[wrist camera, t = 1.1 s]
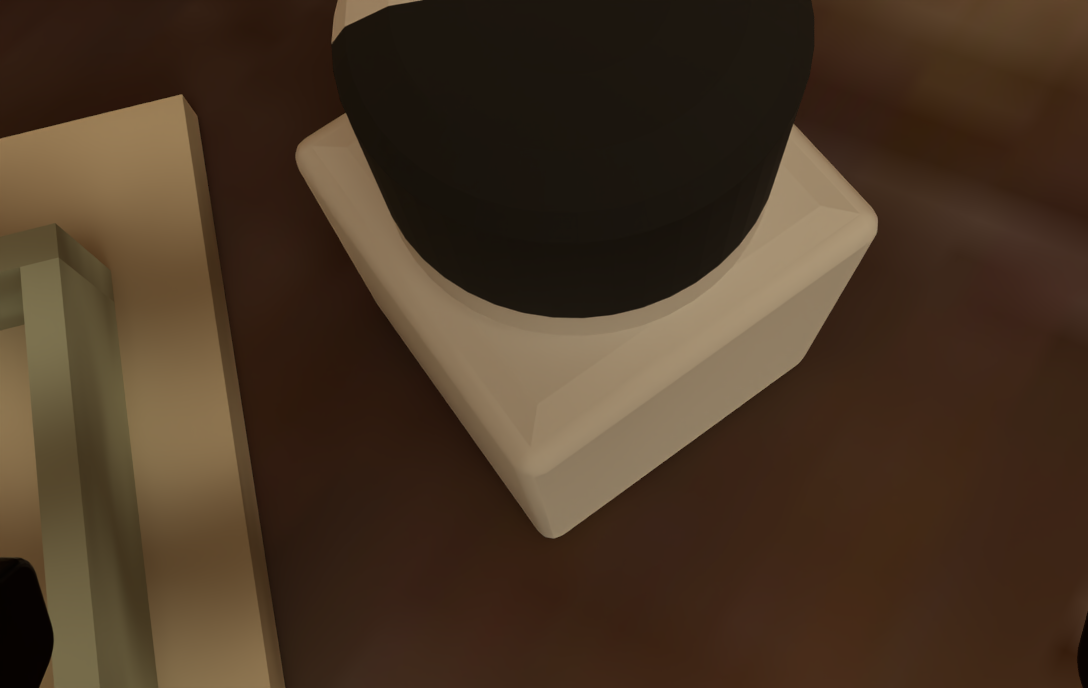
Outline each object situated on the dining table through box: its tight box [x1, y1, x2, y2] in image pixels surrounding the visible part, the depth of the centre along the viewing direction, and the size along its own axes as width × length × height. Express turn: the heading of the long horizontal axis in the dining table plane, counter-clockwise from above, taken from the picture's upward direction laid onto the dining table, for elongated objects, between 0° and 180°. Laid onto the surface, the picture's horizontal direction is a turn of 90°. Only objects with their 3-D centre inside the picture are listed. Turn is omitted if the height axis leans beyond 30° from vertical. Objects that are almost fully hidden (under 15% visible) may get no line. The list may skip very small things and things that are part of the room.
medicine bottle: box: [296, 0, 878, 538], centre depth 18 cm, size 7×7×12 cm
